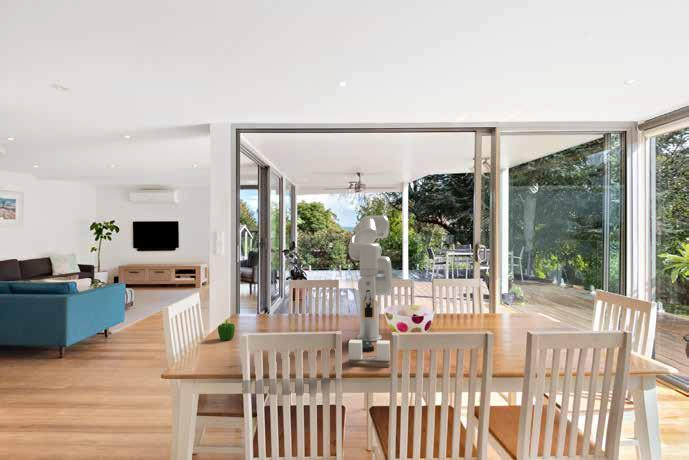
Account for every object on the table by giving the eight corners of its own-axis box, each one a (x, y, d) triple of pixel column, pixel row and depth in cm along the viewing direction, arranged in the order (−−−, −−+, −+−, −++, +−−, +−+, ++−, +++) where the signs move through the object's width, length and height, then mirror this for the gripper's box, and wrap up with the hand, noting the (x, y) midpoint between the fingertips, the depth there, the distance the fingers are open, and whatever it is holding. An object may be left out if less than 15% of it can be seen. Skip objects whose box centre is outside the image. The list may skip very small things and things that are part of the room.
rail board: (351, 358, 185) (350, 337, 185) (390, 359, 182) (389, 338, 182) (348, 365, 175) (347, 344, 175) (389, 367, 172) (389, 345, 172)
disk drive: (374, 352, 195) (367, 343, 209) (374, 346, 195) (367, 337, 209) (352, 353, 193) (347, 344, 208) (352, 347, 193) (347, 338, 208)
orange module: (375, 316, 181) (375, 298, 181) (374, 319, 176) (374, 299, 176) (363, 316, 182) (363, 297, 182) (362, 318, 177) (362, 299, 177)
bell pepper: (230, 342, 213) (230, 322, 213) (215, 341, 214) (215, 321, 214) (237, 337, 221) (237, 318, 221) (223, 337, 223) (223, 318, 223)
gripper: (376, 274, 170) (377, 320, 170) (378, 270, 187) (378, 312, 187) (358, 274, 171) (358, 319, 171) (361, 270, 188) (361, 311, 188)
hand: (369, 315), depth 179 cm, fingers closed on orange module, 5 cm apart
